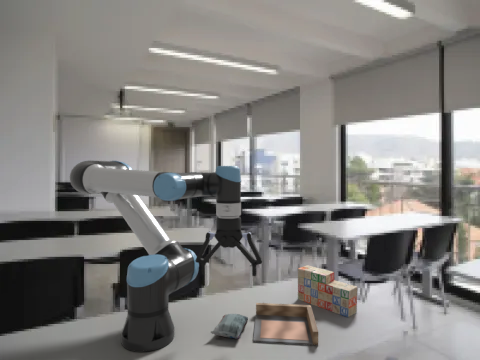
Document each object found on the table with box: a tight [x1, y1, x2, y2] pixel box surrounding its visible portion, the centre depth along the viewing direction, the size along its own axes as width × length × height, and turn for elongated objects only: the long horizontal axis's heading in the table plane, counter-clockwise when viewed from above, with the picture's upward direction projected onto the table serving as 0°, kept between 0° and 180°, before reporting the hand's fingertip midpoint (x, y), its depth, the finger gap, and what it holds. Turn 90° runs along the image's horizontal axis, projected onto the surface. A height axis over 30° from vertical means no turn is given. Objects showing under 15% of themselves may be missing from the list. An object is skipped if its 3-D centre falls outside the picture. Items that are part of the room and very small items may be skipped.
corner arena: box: [252, 302, 319, 347], centre depth 102 cm, size 18×18×4 cm
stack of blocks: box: [297, 264, 358, 318], centre depth 119 cm, size 21×6×12 cm, turn 43°
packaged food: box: [210, 313, 249, 340], centre depth 99 cm, size 9×12×5 cm
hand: (229, 285), depth 99 cm, fingers open, 13 cm apart
